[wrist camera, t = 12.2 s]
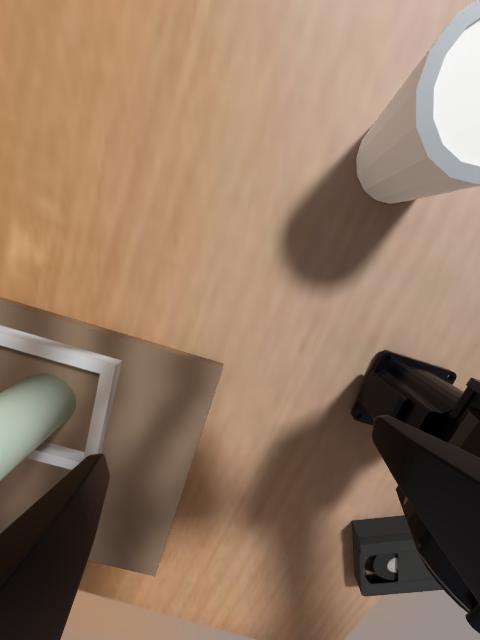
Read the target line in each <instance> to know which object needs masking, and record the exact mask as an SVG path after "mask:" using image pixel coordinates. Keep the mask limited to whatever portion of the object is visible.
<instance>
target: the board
mask: <svg viewBox="0 0 480 640" xmlns="http://www.w3.org/2000/svg"><path fill="white" fill-rule="evenodd" d="M222 369H223V363H219V362H216V361H213V360H209V359H206V358H202V357H199V356H196V355H192V354H189V353H186V352H182V351H179V350H176V349H172V348H169V347H165V346H162V345H159V344H155V343H152V342H149V341H145V340H142V339H139V338H135V337H132V336H128V335H125V334H122V333H118V332H115V331H112V330H108V329H105V328H102V327H98V326H95V325H92V324H88V323H85V322H81V321H78V320H75V319H71V318H68V317H65V316H61V315H58V314H55V313H51V312H48V311H44V310H41V309H38V308H34V307H31V306H28V305H24V304H21V303H18V302H14V301H11V300H7V299H4V298H1V297H0V393H1V392H3V391H4V390H6V389H8V388H10V387H12V386H14V385H15V384H17V383H19V382H21V381H23V380H24V379H26V378H28V377H30V376H32V375H35V374H41V373H45V374H51V375H54V376H57V377H59V378H60V379H62V380H63V381H65V382H66V383H67V384H68V385H69V386H70V387H71V389H72V390H73V392H74V395H75V398H76V408H75V411H74V413H73V415H72V416H71V417H70V418H69V419H68V420H67V421H65V422H64V423H63V424H62V425H61V426H60V427H59V428H58V429H57V430H56V431H54V432H53V433H52V434H51V435H50V436H49V437H48V438H47V439H46V440H45V441H43V442H42V443H41V444H40V445H39V446H38V447H37V448H36V449H35V450H34V451H33V452H31V453H30V454H29V455H28V456H27V457H26V458H25V459H24V460H23V461H22V462H20V463H19V464H18V465H17V466H16V467H15V468H14V469H13V470H12V471H11V472H10V473H8V474H7V475H6V476H5V477H4V478H3V479H2V480H1V481H0V533H1V532H2V531H3V530H4V529H6V528H7V527H8V526H9V525H10V524H11V523H12V522H13V521H15V520H16V519H17V518H18V517H19V516H20V515H21V514H23V513H24V512H25V511H26V510H27V509H28V508H29V507H30V506H32V505H33V504H34V503H35V502H36V501H37V500H38V499H39V498H41V497H42V496H43V495H44V494H45V493H46V492H47V491H48V490H50V489H51V488H52V487H53V486H54V485H55V484H56V483H58V482H59V481H60V480H61V479H62V478H63V477H64V476H65V475H67V474H68V473H69V472H70V471H71V470H72V469H73V468H74V467H76V466H77V465H78V464H79V463H80V462H81V461H82V460H83V459H85V458H86V457H87V456H89V455H91V454H99V453H103V454H104V455H105V457H106V461H107V465H108V469H109V474H110V479H109V484H108V488H107V492H106V496H105V500H104V504H103V508H102V512H101V516H100V520H99V524H98V529H97V532H96V536H95V540H94V543H93V546H92V549H91V552H90V555H89V558H88V561H92V562H96V563H100V564H105V565H109V566H113V567H117V568H122V569H126V570H130V571H134V572H138V573H143V574H147V575H151V576H155V575H156V572H157V569H158V566H159V563H160V560H161V557H162V554H163V551H164V547H165V544H166V541H167V538H168V535H169V532H170V529H171V526H172V523H173V520H174V517H175V514H176V510H177V507H178V504H179V501H180V498H181V495H182V492H183V489H184V486H185V483H186V480H187V477H188V474H189V470H190V467H191V464H192V461H193V458H194V455H195V452H196V449H197V446H198V443H199V440H200V437H201V434H202V430H203V427H204V424H205V421H206V418H207V415H208V412H209V409H210V406H211V403H212V400H213V397H214V394H215V390H216V387H217V384H218V381H219V378H220V375H221V372H222Z"/></svg>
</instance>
